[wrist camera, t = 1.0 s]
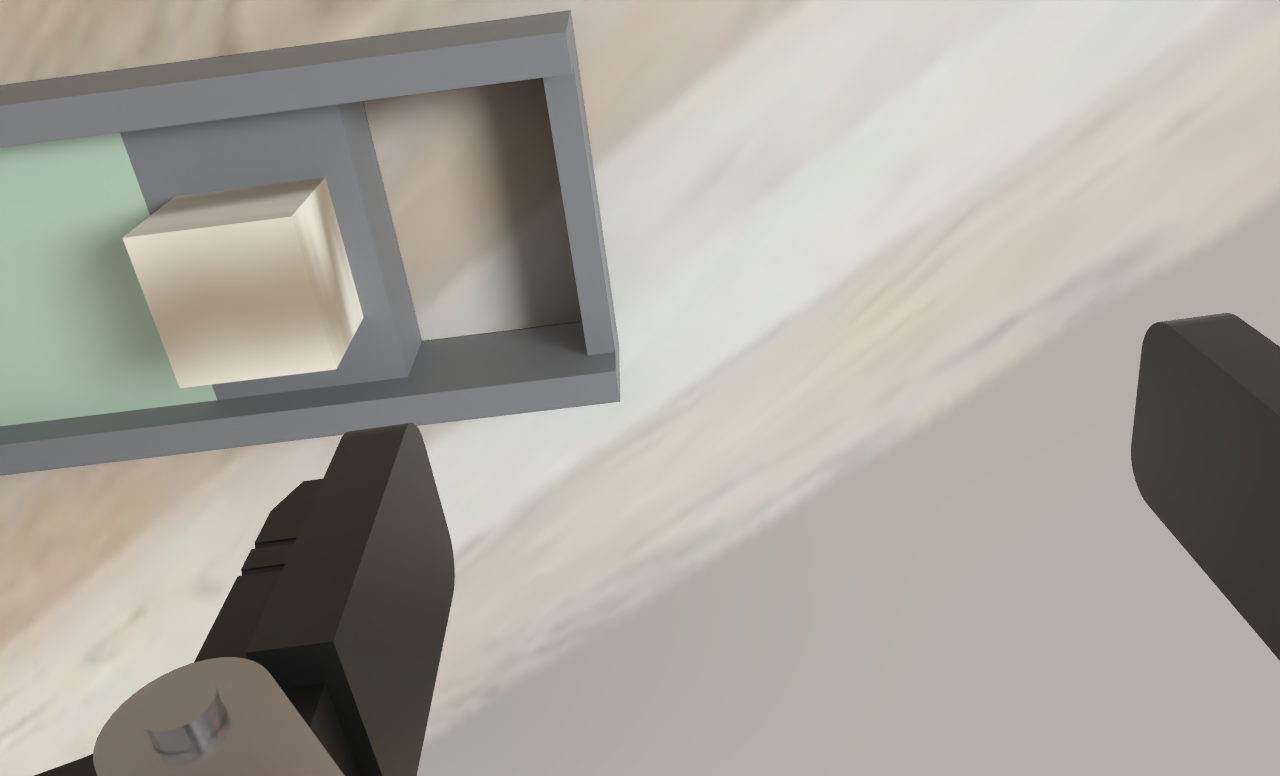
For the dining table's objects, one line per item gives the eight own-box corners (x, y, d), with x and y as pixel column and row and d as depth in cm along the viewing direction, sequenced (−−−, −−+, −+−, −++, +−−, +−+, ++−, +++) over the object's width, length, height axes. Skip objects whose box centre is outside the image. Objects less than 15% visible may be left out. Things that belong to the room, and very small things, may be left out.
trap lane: (-304, 125, 34) (-424, 160, 30) (570, 10, 33) (565, 32, 29) (-129, 436, 40) (-210, 500, 36) (618, 345, 39) (620, 401, 35)
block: (174, 196, 33) (122, 238, 29) (325, 177, 33) (291, 216, 29) (222, 334, 35) (179, 388, 32) (363, 317, 35) (336, 369, 31)
